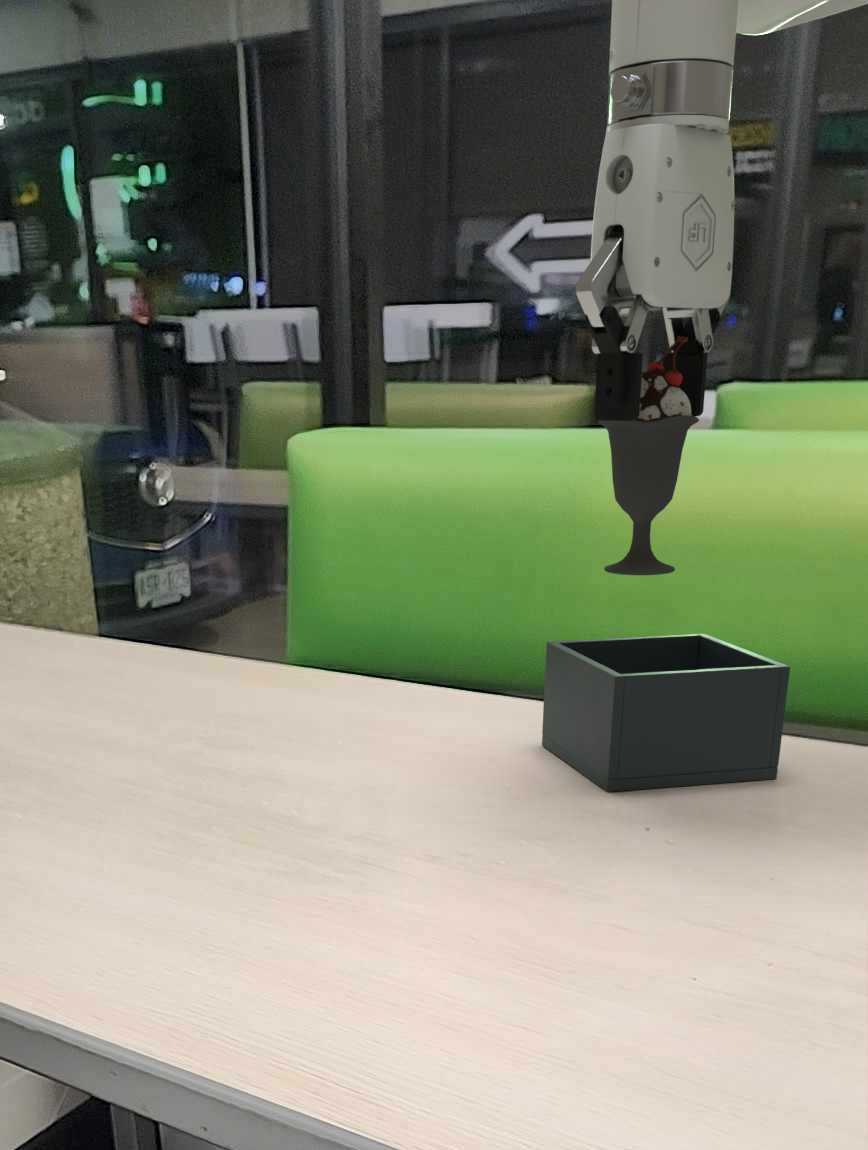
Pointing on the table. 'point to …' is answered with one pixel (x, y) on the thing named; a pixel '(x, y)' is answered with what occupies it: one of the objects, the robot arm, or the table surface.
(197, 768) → the table surface
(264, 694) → the table surface
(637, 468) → the sundae
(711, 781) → the bin
